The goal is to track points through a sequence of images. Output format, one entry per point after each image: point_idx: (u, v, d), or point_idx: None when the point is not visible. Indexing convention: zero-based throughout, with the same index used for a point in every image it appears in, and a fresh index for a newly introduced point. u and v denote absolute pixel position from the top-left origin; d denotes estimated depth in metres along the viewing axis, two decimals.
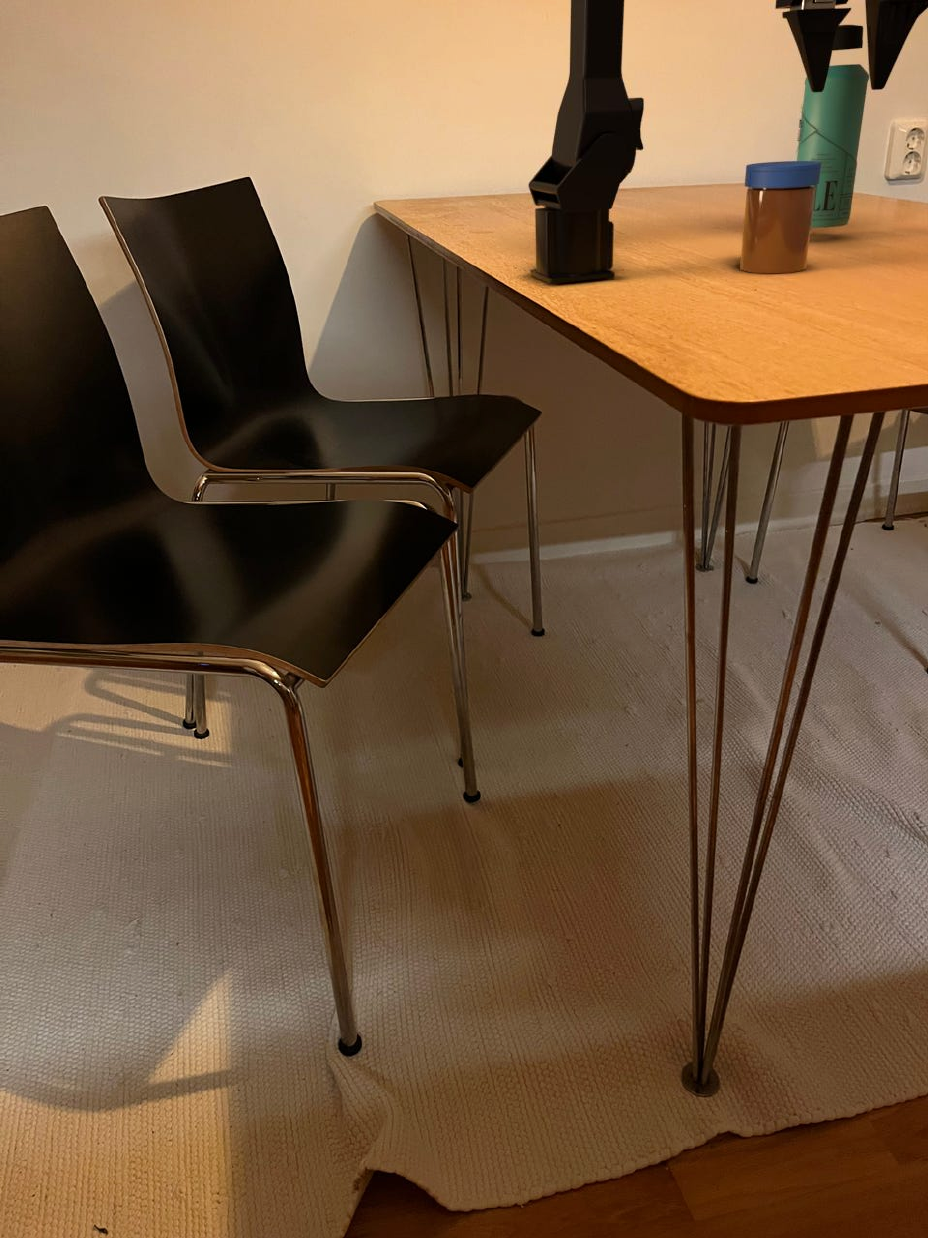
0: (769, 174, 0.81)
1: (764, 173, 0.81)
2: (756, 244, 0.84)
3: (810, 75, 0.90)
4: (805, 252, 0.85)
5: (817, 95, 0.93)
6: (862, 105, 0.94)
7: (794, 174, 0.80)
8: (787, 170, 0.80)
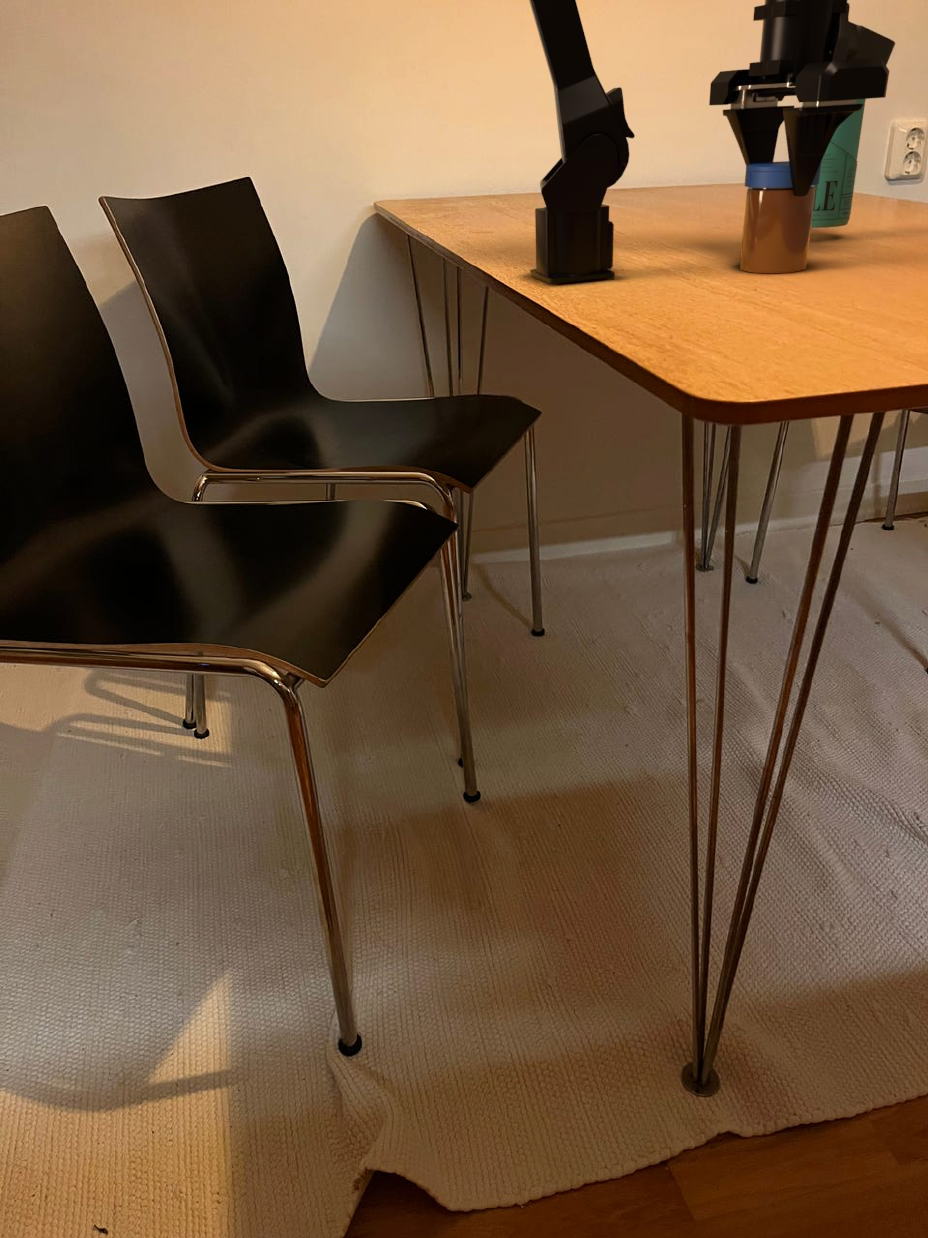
0: (769, 174, 0.81)
1: (764, 173, 0.81)
2: (756, 244, 0.84)
3: None
4: (805, 252, 0.85)
5: None
6: None
7: None
8: (787, 170, 0.80)
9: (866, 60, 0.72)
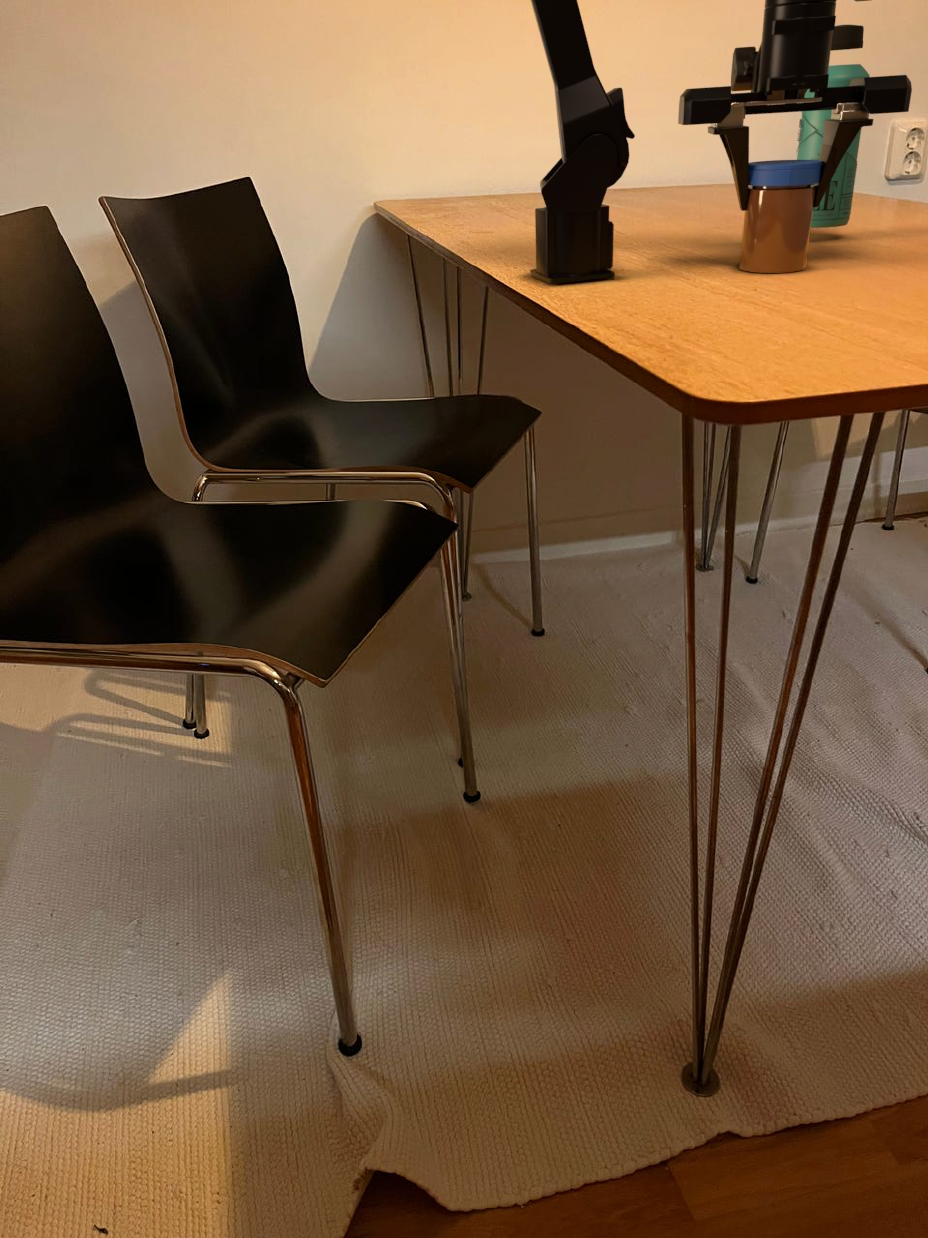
0: (811, 170, 0.81)
1: (807, 170, 0.80)
2: (756, 243, 0.84)
3: (746, 193, 0.83)
4: (805, 252, 0.85)
5: None
6: None
7: (820, 169, 0.82)
8: (820, 165, 0.81)
9: None
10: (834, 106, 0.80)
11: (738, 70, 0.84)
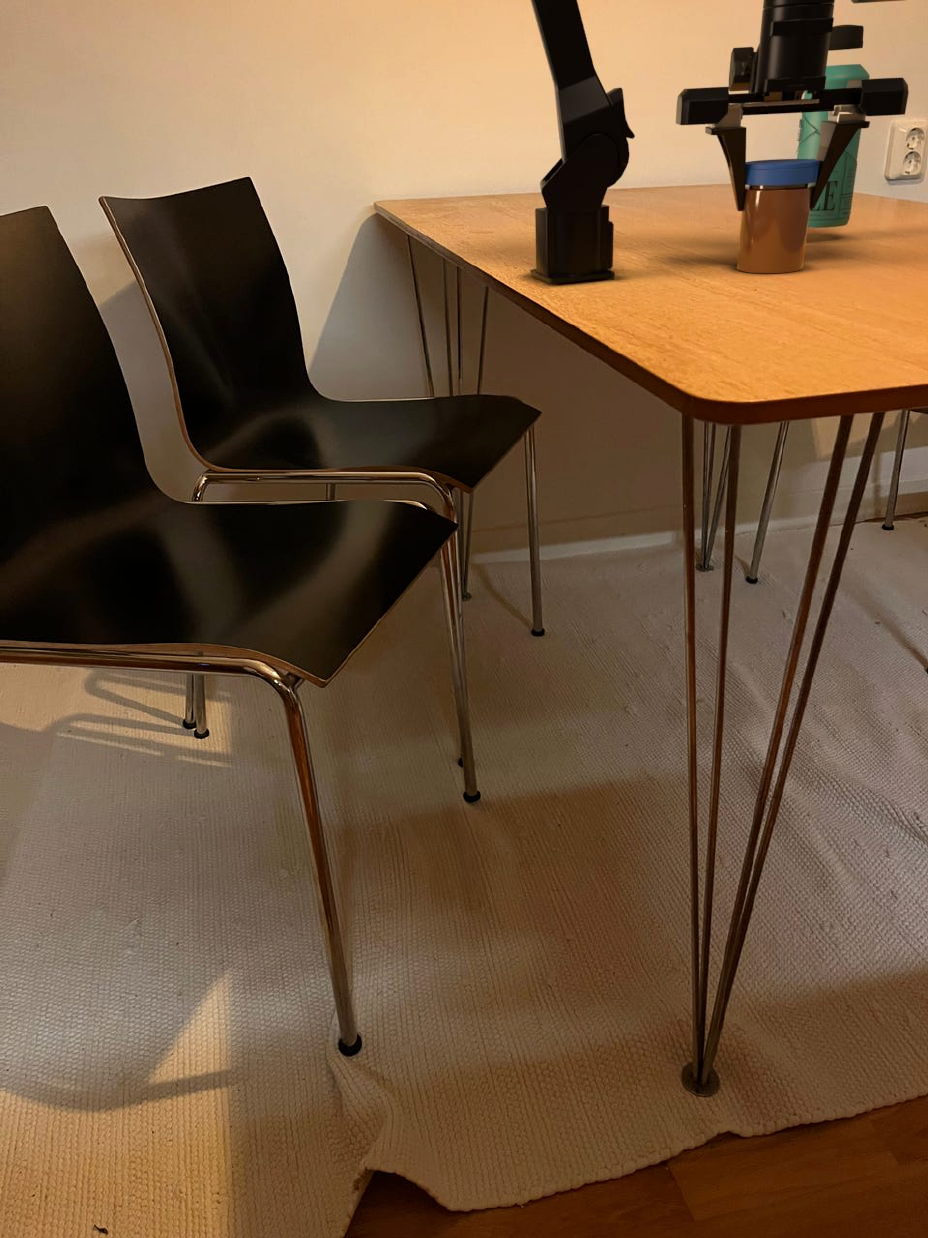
0: None
1: None
2: (753, 243, 0.84)
3: (743, 194, 0.84)
4: (802, 252, 0.85)
5: None
6: None
7: None
8: None
9: None
10: (831, 108, 0.80)
11: (736, 70, 0.84)
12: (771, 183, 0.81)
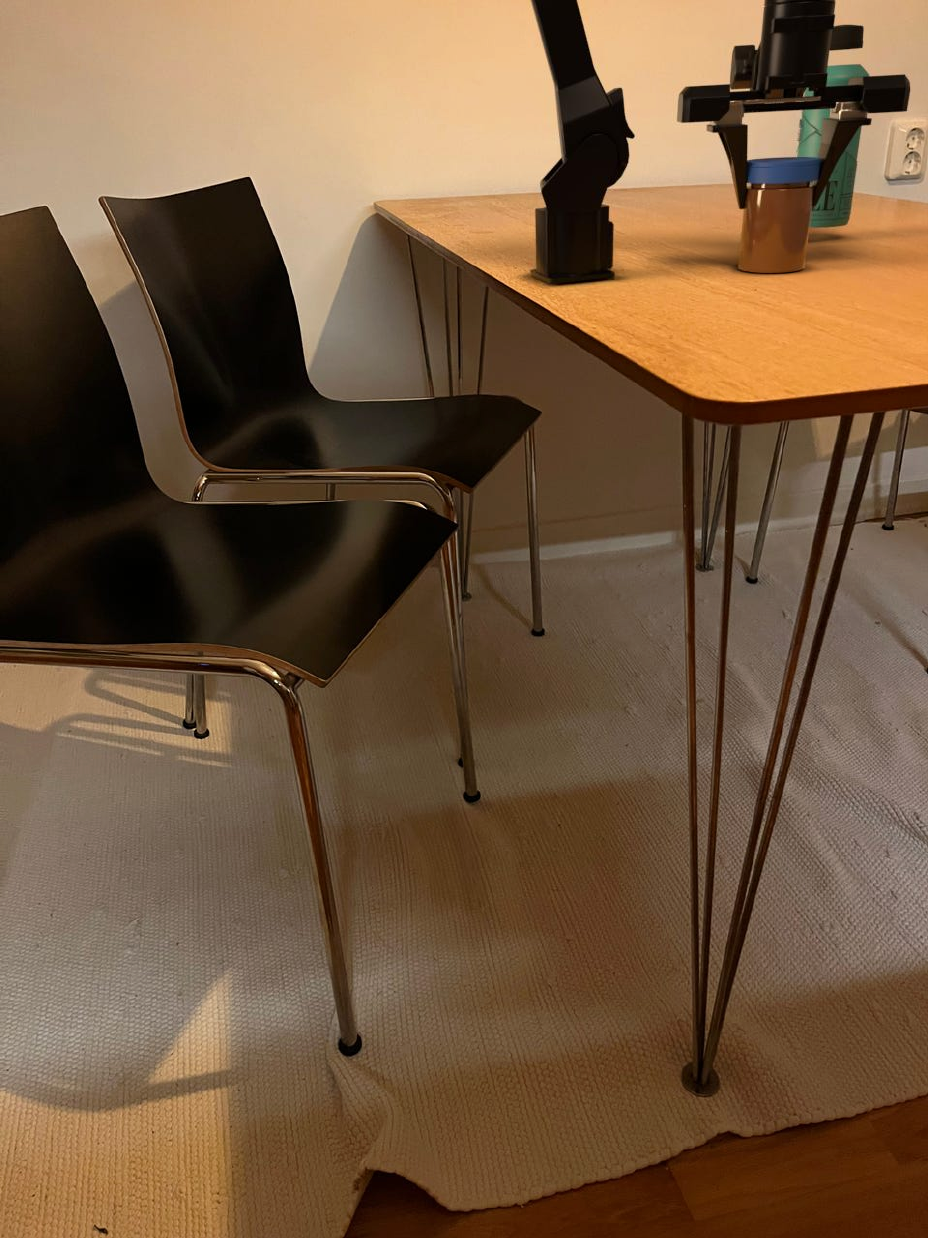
0: None
1: None
2: (755, 243, 0.84)
3: (744, 192, 0.83)
4: (803, 252, 0.85)
5: None
6: None
7: None
8: None
9: None
10: (833, 105, 0.80)
11: (737, 68, 0.84)
12: (812, 178, 0.81)
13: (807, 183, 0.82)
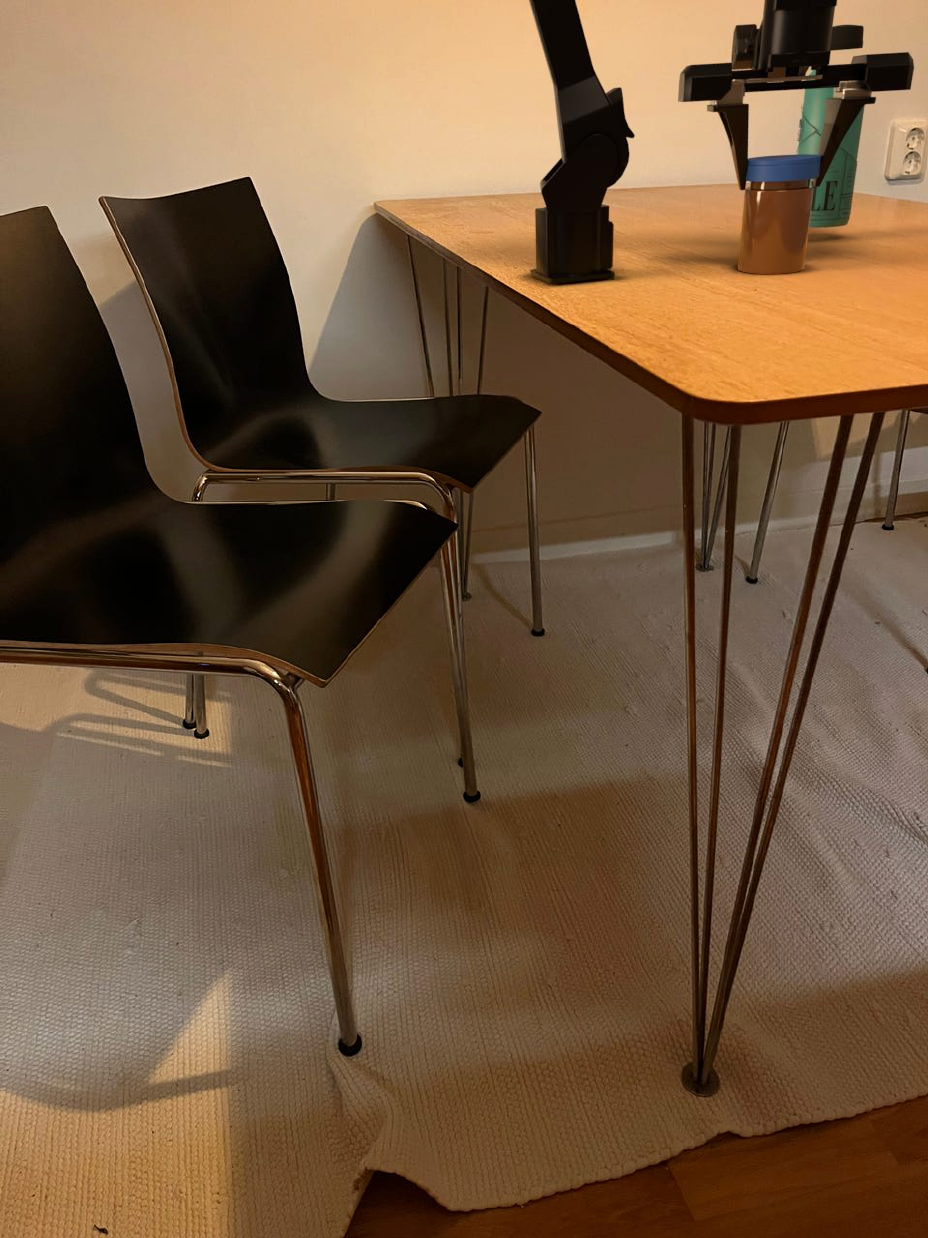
0: (757, 168, 0.81)
1: (753, 167, 0.82)
2: (754, 244, 0.84)
3: (745, 173, 0.83)
4: (803, 253, 0.84)
5: (818, 95, 0.93)
6: None
7: (780, 168, 0.80)
8: (773, 164, 0.80)
9: None
10: (835, 84, 0.79)
11: (739, 48, 0.83)
12: None
13: (806, 184, 0.82)
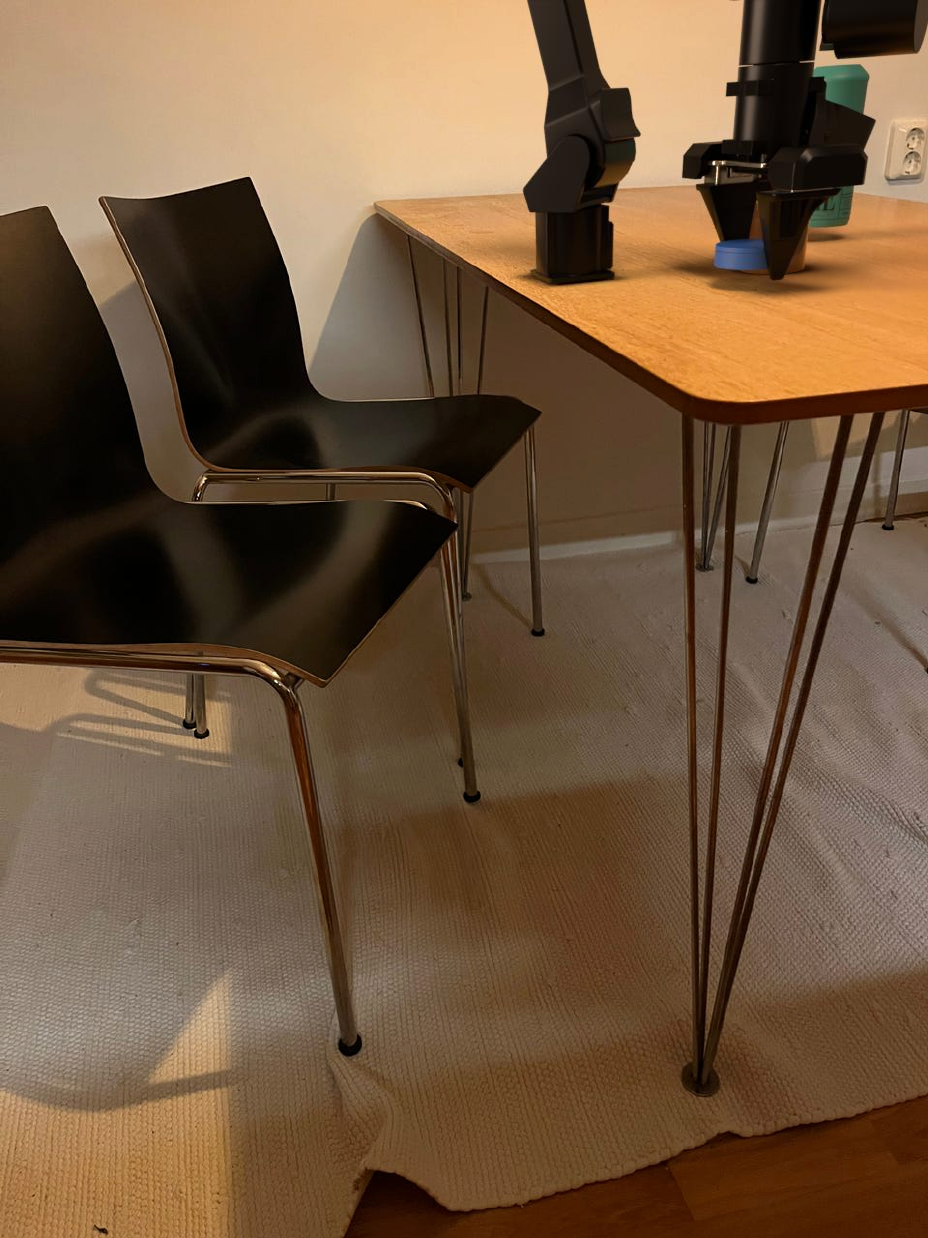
0: None
1: None
2: None
3: None
4: (803, 253, 0.84)
5: None
6: (862, 105, 0.94)
7: (716, 254, 0.79)
8: (715, 248, 0.79)
9: (843, 147, 0.67)
10: None
11: None
12: None
13: None
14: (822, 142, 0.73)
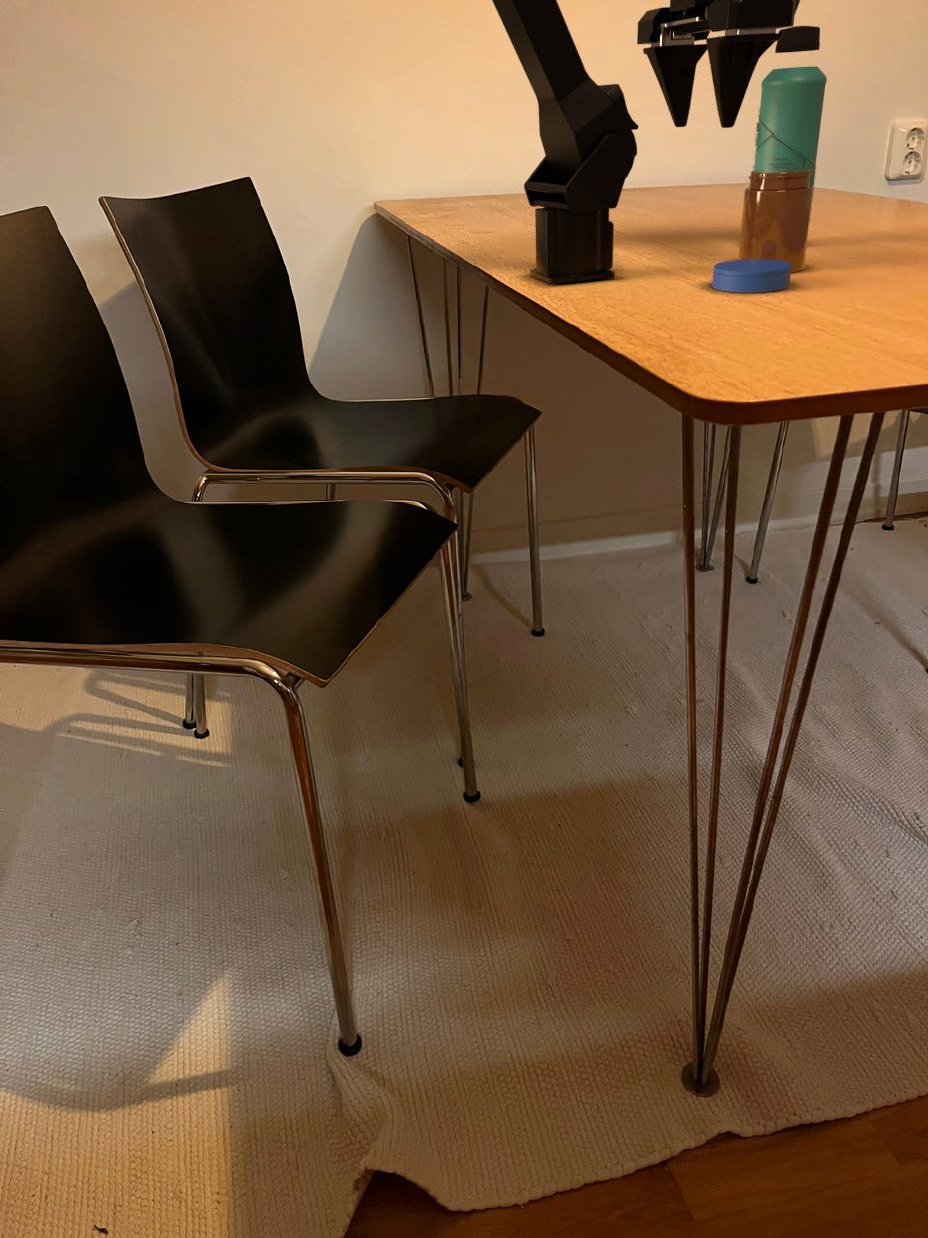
0: None
1: None
2: (754, 244, 0.84)
3: (672, 110, 0.90)
4: (803, 253, 0.84)
5: (774, 98, 0.91)
6: (820, 108, 0.91)
7: (714, 275, 0.80)
8: (713, 270, 0.80)
9: None
10: None
11: None
12: None
13: (806, 184, 0.82)
14: None
